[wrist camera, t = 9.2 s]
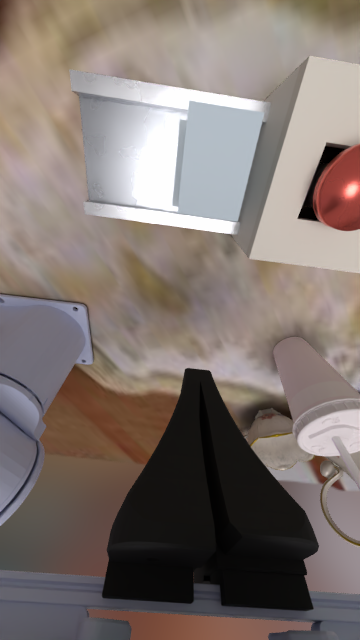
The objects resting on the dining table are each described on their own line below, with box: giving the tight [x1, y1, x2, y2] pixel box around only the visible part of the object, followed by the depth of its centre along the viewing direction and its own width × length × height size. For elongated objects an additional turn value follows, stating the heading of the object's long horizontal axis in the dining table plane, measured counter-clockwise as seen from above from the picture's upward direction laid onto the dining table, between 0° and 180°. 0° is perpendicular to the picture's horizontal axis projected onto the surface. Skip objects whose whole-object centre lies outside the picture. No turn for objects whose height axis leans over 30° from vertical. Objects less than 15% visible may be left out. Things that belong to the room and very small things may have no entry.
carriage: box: [172, 100, 264, 222], centre depth 12 cm, size 4×4×6 cm
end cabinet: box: [231, 56, 360, 273], centre depth 13 cm, size 7×8×6 cm
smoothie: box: [273, 337, 360, 489], centre depth 18 cm, size 6×6×14 cm
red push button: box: [302, 143, 360, 231], centre depth 11 cm, size 3×3×5 cm
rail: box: [70, 70, 271, 235], centre depth 15 cm, size 11×7×2 cm, turn 83°
